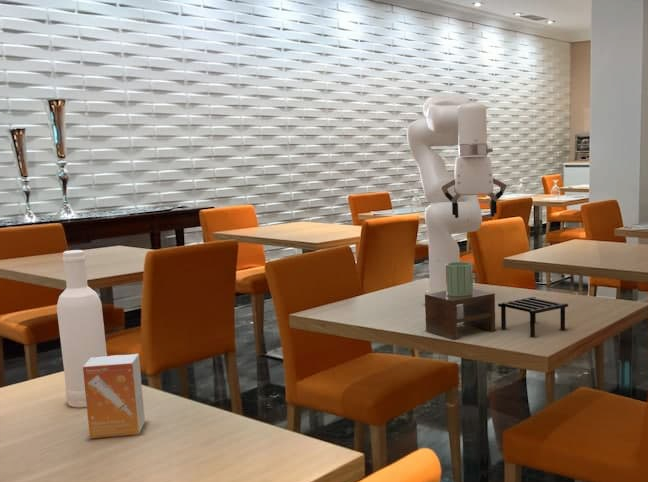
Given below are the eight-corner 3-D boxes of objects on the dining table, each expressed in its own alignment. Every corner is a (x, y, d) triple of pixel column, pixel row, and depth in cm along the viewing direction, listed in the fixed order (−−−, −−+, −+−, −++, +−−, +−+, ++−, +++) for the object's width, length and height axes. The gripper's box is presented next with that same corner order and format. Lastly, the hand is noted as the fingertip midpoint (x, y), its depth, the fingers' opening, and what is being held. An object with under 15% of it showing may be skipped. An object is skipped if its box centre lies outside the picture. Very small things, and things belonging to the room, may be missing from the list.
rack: (498, 329, 200) (497, 303, 199) (533, 321, 208) (533, 296, 206) (532, 338, 190) (532, 311, 188) (568, 329, 198) (568, 303, 196)
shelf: (425, 331, 199) (424, 294, 198) (466, 322, 208) (466, 287, 206) (453, 339, 190) (452, 300, 188) (495, 330, 199) (494, 293, 197)
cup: (441, 293, 198) (440, 263, 196) (461, 290, 202) (461, 261, 201) (457, 297, 193) (456, 266, 191) (477, 293, 197) (477, 263, 195)
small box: (89, 439, 128) (81, 366, 126) (98, 426, 134) (90, 356, 132) (140, 434, 130) (132, 362, 128) (146, 422, 136) (139, 352, 134)
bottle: (67, 410, 143) (49, 255, 138) (67, 399, 150) (49, 250, 145) (113, 403, 147) (97, 251, 142) (110, 392, 154) (95, 247, 149)
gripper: (503, 151, 201) (504, 215, 204) (439, 153, 200) (441, 217, 203) (507, 150, 194) (508, 216, 196) (440, 152, 193) (442, 219, 195)
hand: (474, 217), depth 200 cm, fingers open, 9 cm apart
